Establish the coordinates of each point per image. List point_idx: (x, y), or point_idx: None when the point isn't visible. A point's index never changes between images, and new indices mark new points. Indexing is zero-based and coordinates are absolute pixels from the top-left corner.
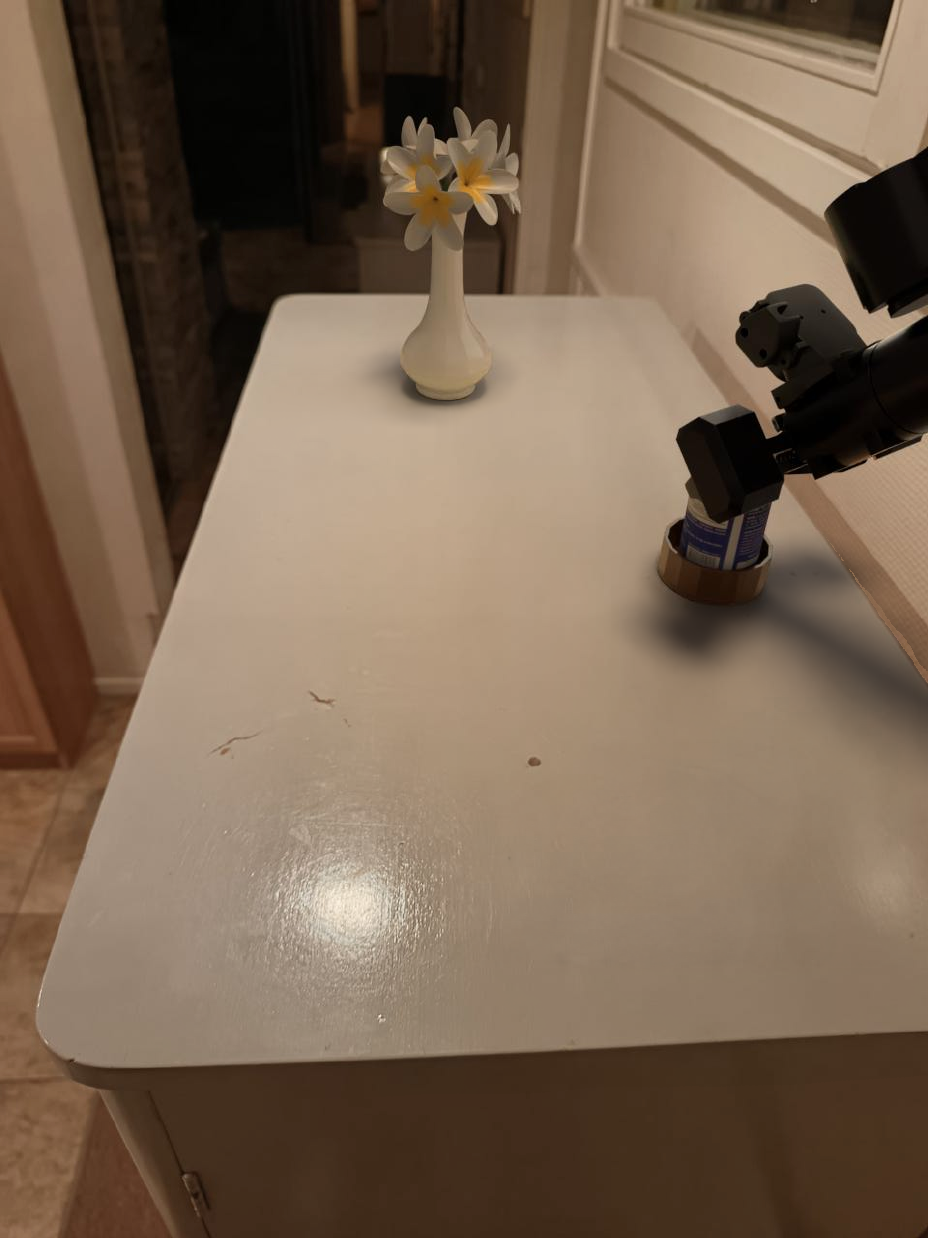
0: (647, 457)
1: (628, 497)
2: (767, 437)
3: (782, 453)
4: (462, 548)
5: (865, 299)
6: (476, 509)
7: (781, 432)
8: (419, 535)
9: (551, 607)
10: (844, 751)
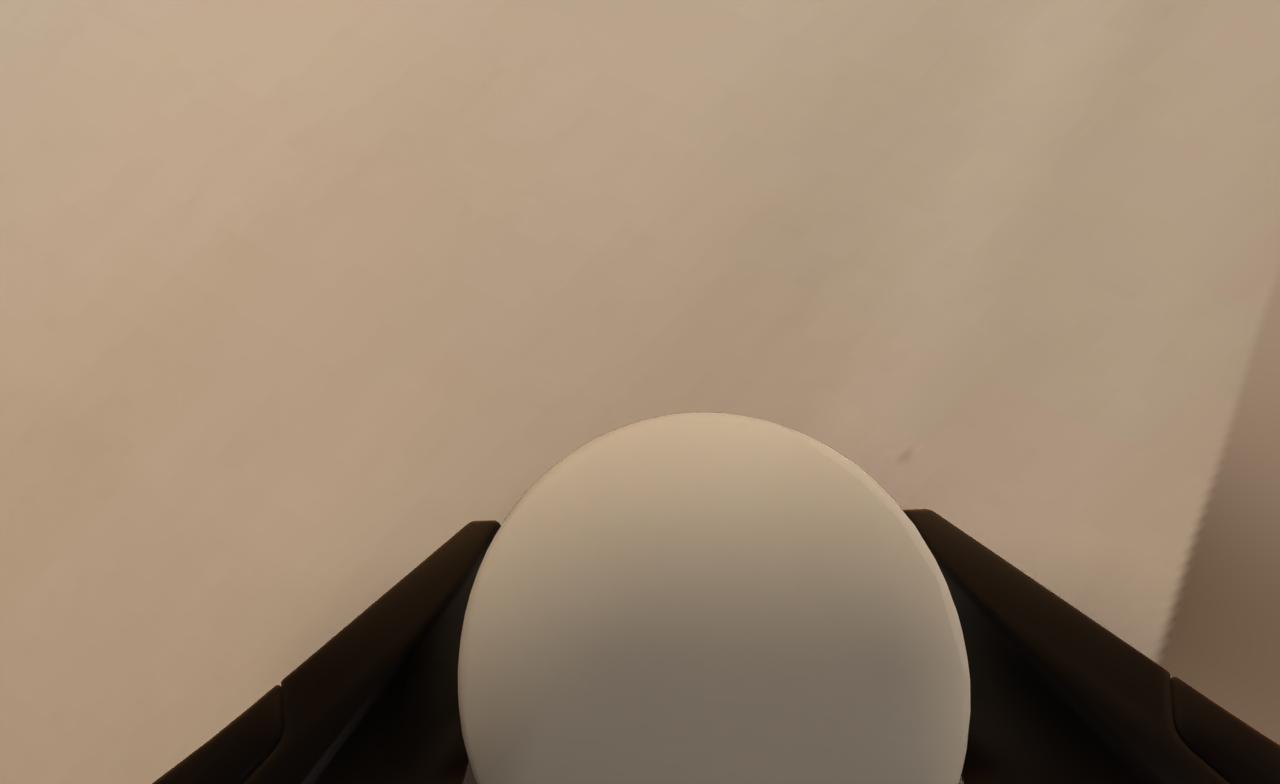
0: (960, 58)
1: (764, 193)
2: (964, 686)
3: (1024, 776)
4: (249, 194)
5: None
6: (388, 79)
7: (1105, 740)
8: (212, 112)
9: (235, 491)
10: None
